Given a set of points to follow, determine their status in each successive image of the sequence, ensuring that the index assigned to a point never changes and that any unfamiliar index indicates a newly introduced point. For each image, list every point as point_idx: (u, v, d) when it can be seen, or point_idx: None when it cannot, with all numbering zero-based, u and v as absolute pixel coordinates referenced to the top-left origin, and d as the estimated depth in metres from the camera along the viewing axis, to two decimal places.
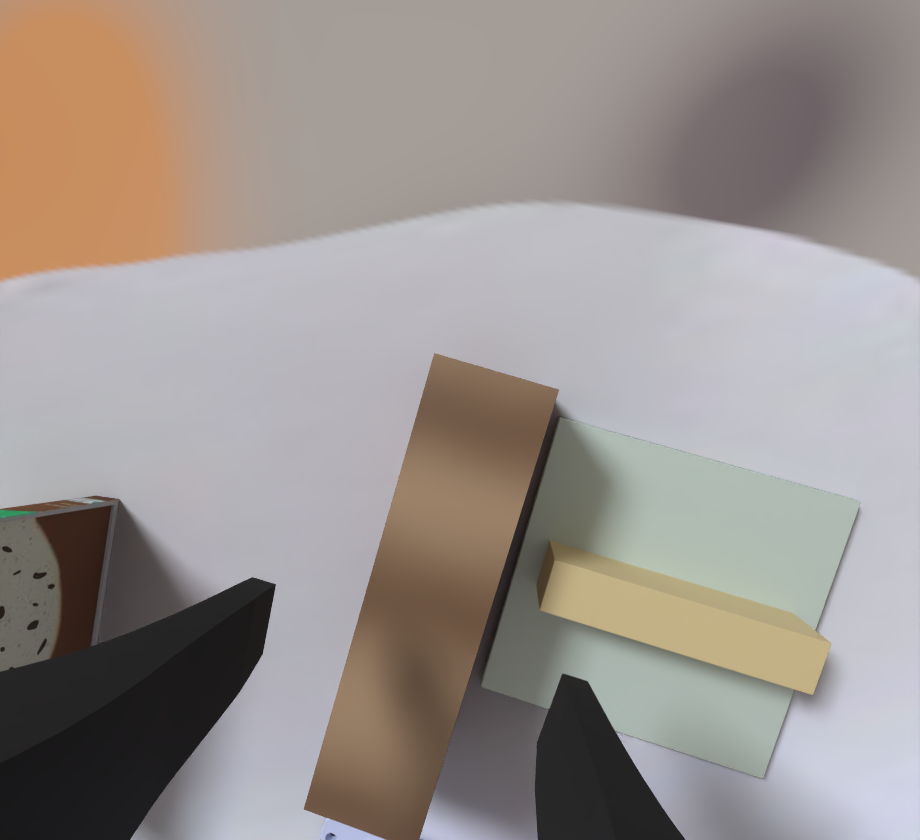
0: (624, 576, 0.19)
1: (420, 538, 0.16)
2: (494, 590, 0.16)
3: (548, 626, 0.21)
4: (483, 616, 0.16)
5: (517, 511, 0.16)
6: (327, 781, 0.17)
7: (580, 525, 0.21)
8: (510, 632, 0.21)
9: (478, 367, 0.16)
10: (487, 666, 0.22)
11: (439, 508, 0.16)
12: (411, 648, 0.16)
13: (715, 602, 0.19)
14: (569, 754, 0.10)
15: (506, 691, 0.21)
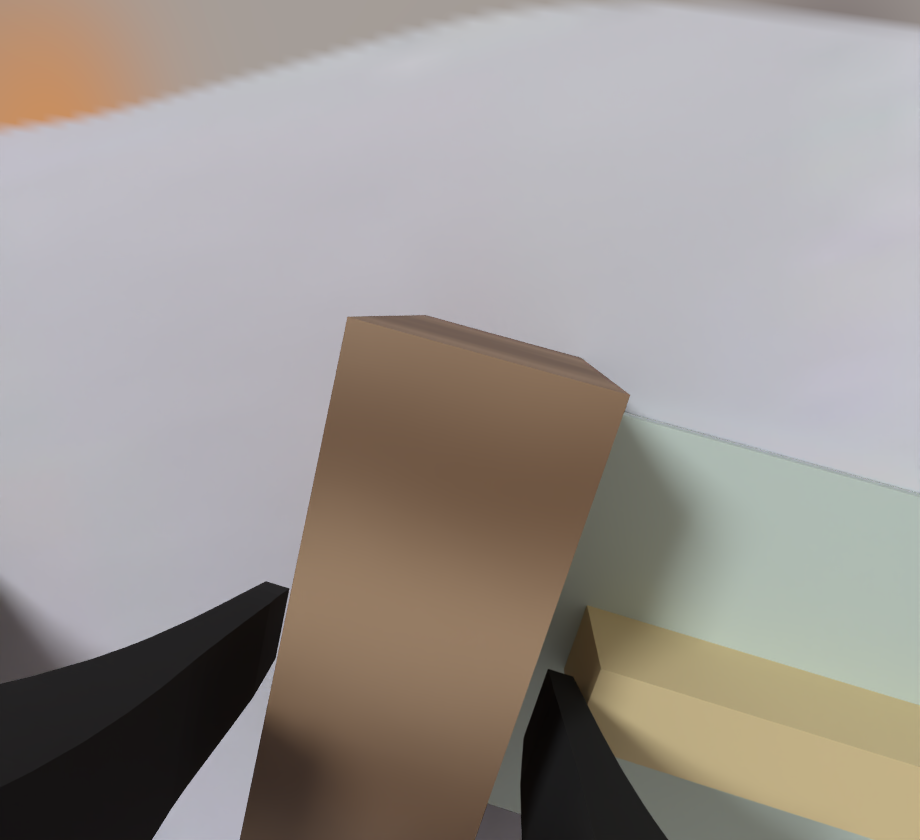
0: (718, 689, 0.11)
1: (345, 683, 0.08)
2: (492, 778, 0.08)
3: None
4: (472, 819, 0.09)
5: (536, 642, 0.08)
6: None
7: (637, 584, 0.13)
8: (523, 732, 0.14)
9: (446, 347, 0.07)
10: None
11: (380, 631, 0.08)
12: None
13: (874, 731, 0.11)
14: (551, 748, 0.10)
15: (516, 807, 0.15)
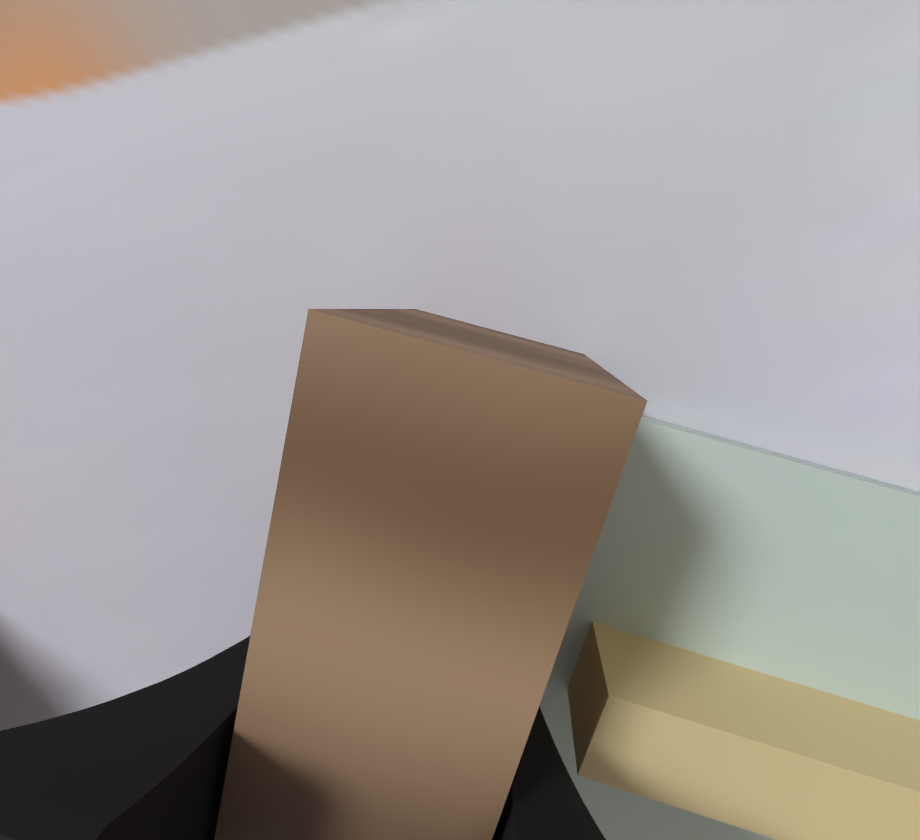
0: (736, 716, 0.10)
1: (316, 732, 0.07)
2: None
3: None
4: None
5: (536, 688, 0.07)
6: None
7: (647, 599, 0.12)
8: None
9: (426, 344, 0.06)
10: None
11: (354, 676, 0.07)
12: None
13: (906, 762, 0.10)
14: None
15: None
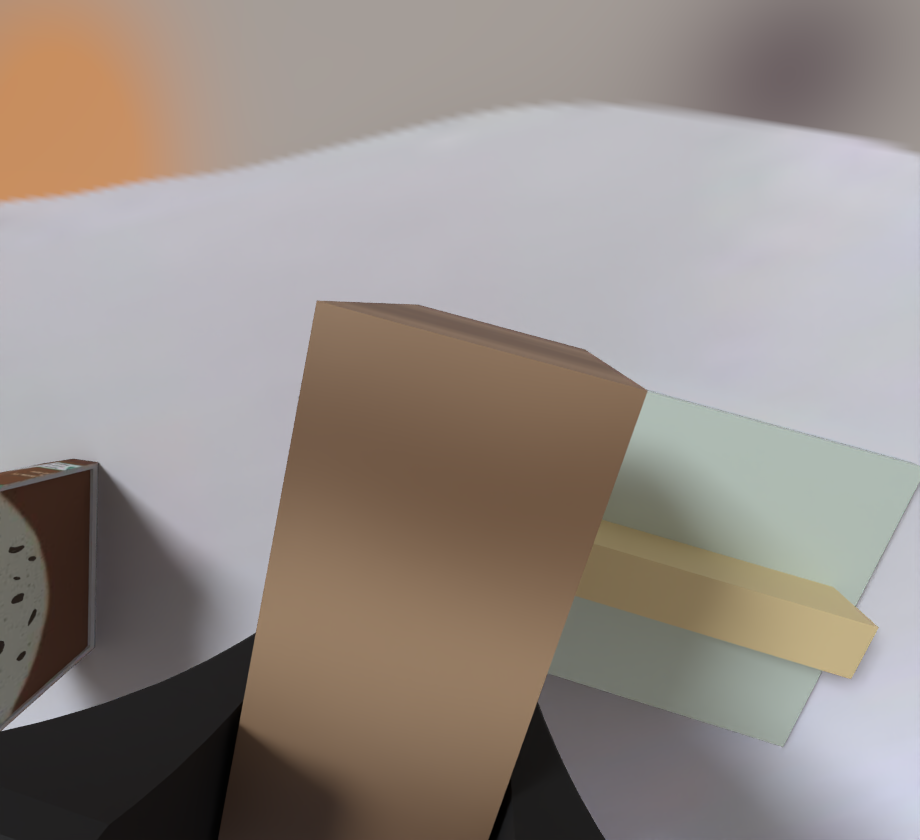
0: (648, 552, 0.17)
1: (322, 718, 0.07)
2: (488, 825, 0.07)
3: None
4: None
5: (538, 674, 0.07)
6: None
7: None
8: None
9: (432, 335, 0.06)
10: None
11: (359, 662, 0.07)
12: None
13: (749, 580, 0.17)
14: None
15: None
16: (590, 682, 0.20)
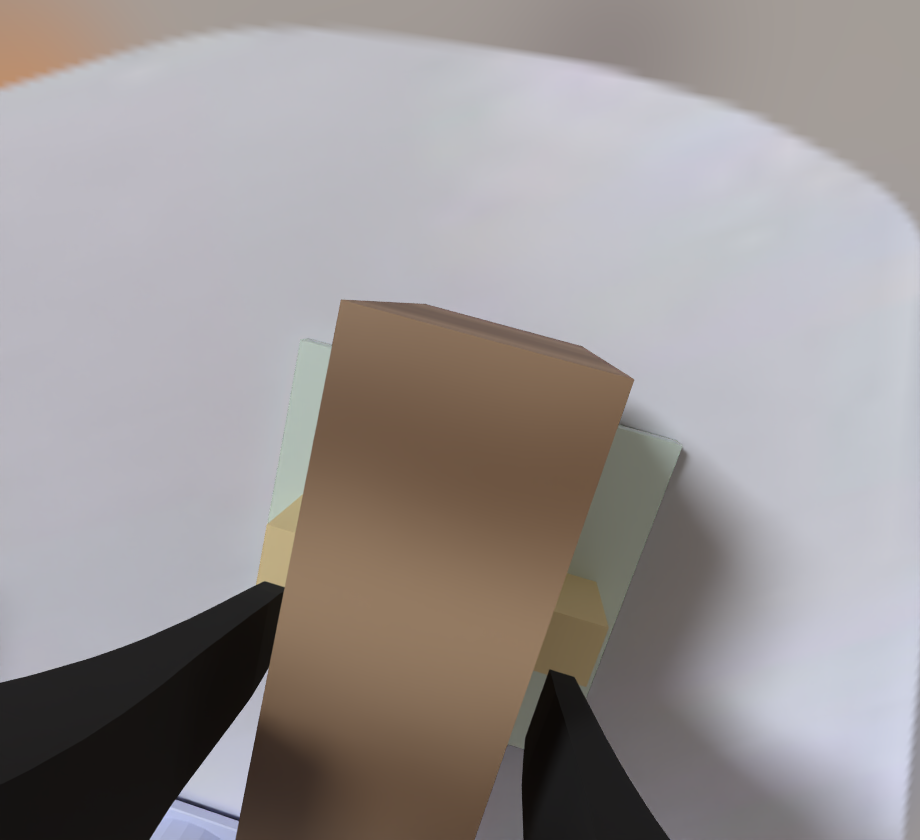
0: None
1: (341, 679, 0.08)
2: (492, 775, 0.08)
3: None
4: (472, 816, 0.08)
5: (537, 636, 0.07)
6: None
7: None
8: None
9: (443, 330, 0.07)
10: None
11: (376, 625, 0.08)
12: None
13: None
14: (554, 749, 0.10)
15: None
16: None
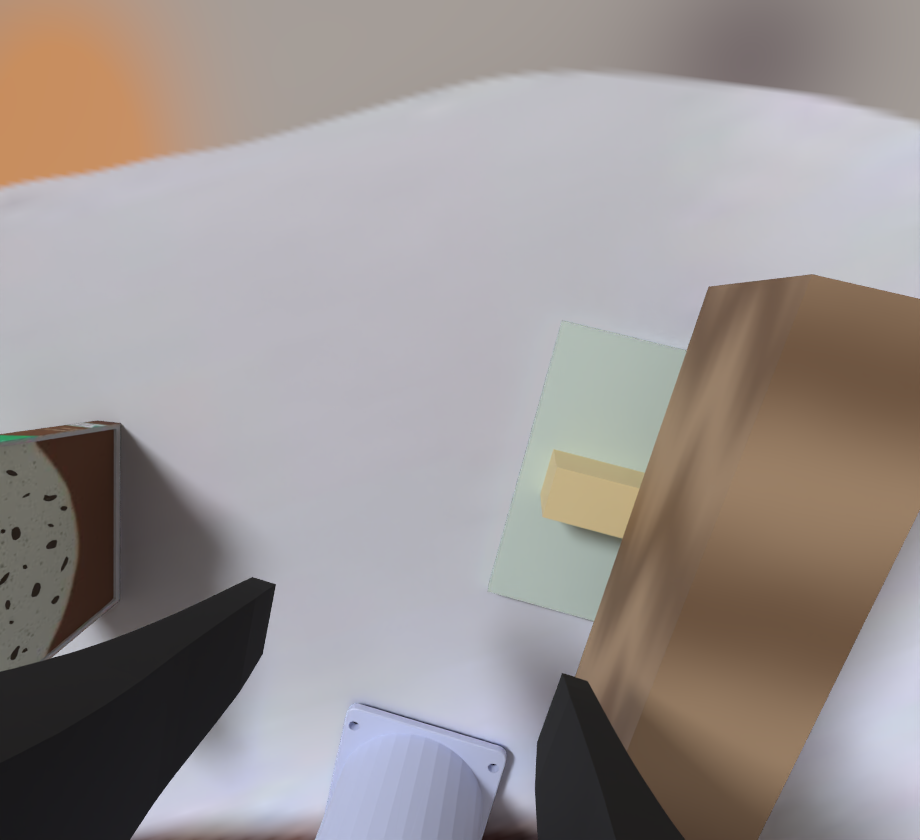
0: (628, 481, 0.18)
1: (767, 538, 0.12)
2: (871, 602, 0.12)
3: (553, 533, 0.21)
4: (850, 635, 0.12)
5: (919, 498, 0.11)
6: None
7: (584, 433, 0.20)
8: (515, 540, 0.21)
9: (882, 292, 0.10)
10: (493, 572, 0.22)
11: (800, 498, 0.11)
12: (743, 674, 0.13)
13: None
14: (569, 754, 0.10)
15: (512, 594, 0.22)
16: (582, 613, 0.22)
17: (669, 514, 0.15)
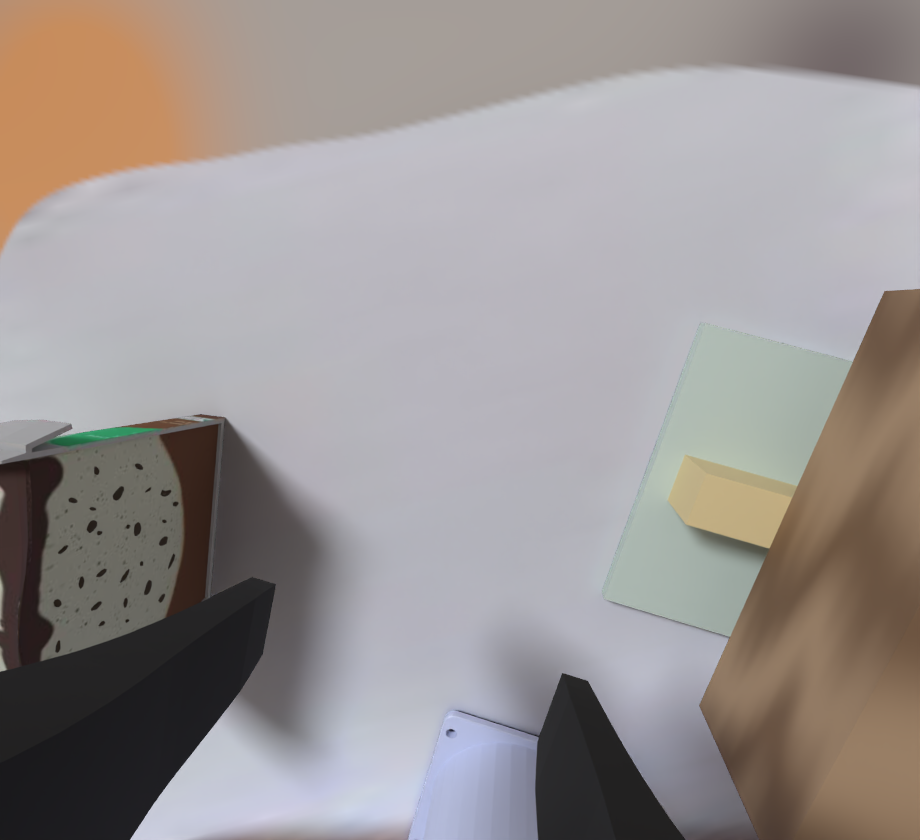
0: (776, 489, 0.18)
1: None
2: None
3: (677, 540, 0.21)
4: None
5: None
6: None
7: (719, 438, 0.20)
8: (637, 546, 0.21)
9: None
10: (611, 579, 0.21)
11: None
12: None
13: None
14: (569, 754, 0.10)
15: (629, 602, 0.21)
16: (702, 624, 0.21)
17: (859, 526, 0.14)
